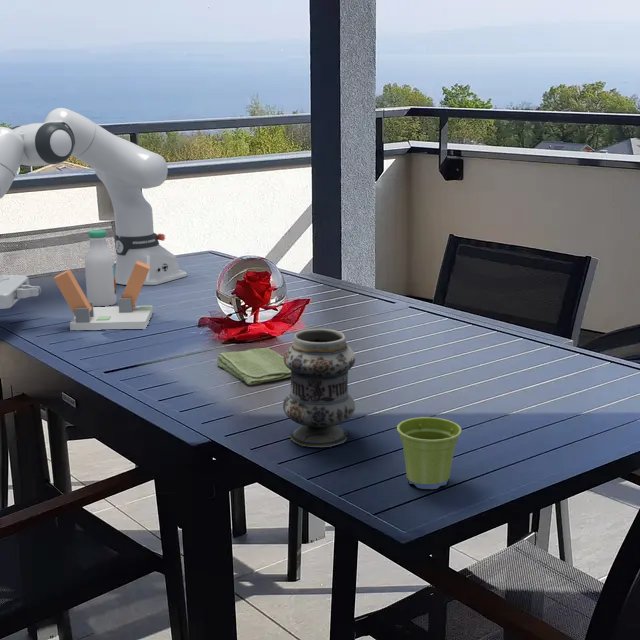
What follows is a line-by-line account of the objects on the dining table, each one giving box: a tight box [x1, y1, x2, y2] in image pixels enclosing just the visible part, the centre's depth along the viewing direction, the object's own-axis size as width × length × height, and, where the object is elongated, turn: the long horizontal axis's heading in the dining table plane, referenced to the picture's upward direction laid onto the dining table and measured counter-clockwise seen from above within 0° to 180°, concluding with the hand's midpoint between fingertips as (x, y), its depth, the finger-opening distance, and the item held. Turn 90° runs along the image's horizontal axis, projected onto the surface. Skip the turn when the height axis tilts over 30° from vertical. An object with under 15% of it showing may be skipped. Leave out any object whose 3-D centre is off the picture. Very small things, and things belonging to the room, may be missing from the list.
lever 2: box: [121, 261, 151, 308], centre depth 230 cm, size 4×4×12 cm
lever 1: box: [53, 268, 92, 316], centre depth 220 cm, size 4×4×12 cm
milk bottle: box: [84, 229, 118, 307], centre depth 243 cm, size 8×8×20 cm
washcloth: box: [216, 347, 291, 387], centre depth 188 cm, size 13×18×3 cm
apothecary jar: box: [282, 328, 356, 446], centre depth 151 cm, size 12×12×18 cm
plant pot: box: [396, 416, 462, 484], centre depth 135 cm, size 9×9×9 cm
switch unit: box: [69, 292, 154, 332], centre depth 226 cm, size 16×18×6 cm
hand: (39, 291), depth 219 cm, fingers closed
